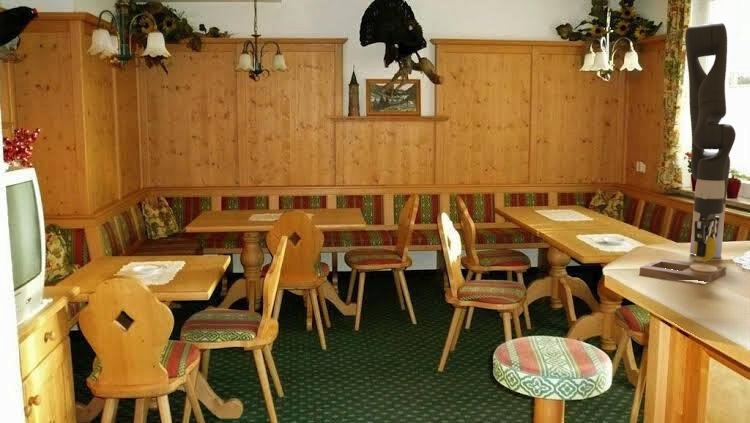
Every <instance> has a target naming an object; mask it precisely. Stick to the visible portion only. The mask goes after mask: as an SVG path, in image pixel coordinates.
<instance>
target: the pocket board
mask: <svg viewBox="0 0 750 423" xmlns="http://www.w3.org/2000/svg"><path fill="white" fill-rule="evenodd" d="M693 264H702V263H700V262H694V261H693V262H692V261H687V260H680V259H674V258H667V257H662V258H659V259H657V260H654V261H652V262H650V263H648V264H645V265H643V266H640V268H639V275H644V276H649V277H655V278H660V279H661V278H662V279H666V280H672V281H678V280H698V281H704V282H710V283H711V282H713V281H715V280H717V279H719V278H721V277H722V276H724V275H726V273H727V266H720V265H714V264H713V265H712V264H710V265H711V266H715V267H717V272H699V271H694V270H691V269H690V265H693ZM703 264H704V265H709V264H708V263H703ZM665 268H666V269H665ZM671 269H673V270H671ZM677 270H678V271H677Z"/></svg>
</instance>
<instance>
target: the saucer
mask: <svg viewBox="0 0 750 423" xmlns="http://www.w3.org/2000/svg"><path fill="white" fill-rule="evenodd" d="M704 264H705V263H701V264H693V265H690V269H691V270H694V271H699V272H717V267H715V266H716V265H715V266H711V265H712V264H708V265H704Z"/></svg>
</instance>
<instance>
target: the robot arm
mask: <svg viewBox="0 0 750 423" xmlns="http://www.w3.org/2000/svg"><path fill="white" fill-rule="evenodd" d="M684 40H685V42H684V46H685V53H686V62H687V71H688V84H689V85H688V86H689V87H688V89H689V90H688V91H689V94H688V95H689V97H688V98H689V116H690V126H691V128H690V129H691V163H690V164H691V165H690V166H691V176H692V178H693V179H694V180H696V183H695V189H694V197H693V198H694V199H693V213H692V223H691V224H692V225H691V237H690V250H689V254H690V253H693V254H695V243H696V242H697V243H698V244H697V256H699V257H705V256H706V243H707V239H708V237H709V236H710V237H712V238H713V239H714V241H715V244H716V252H715V254H714V256H713V257H712V258H711V259H718V258H721V257H722V252H723V251H722V248H723V240H724V239H723V238H724V237H723V236H724V229H725V228H724V226H725V225H724V224H725V216H726V215H725V214H726V201H727V192H728V183H729V176H730V169H731V158H730V153H731V151H732V149H733V145H734V144H735V140H736V130H735V128H734V126H732V124H727V123H720V122H721V120H722V119H723V118H724V117H725V116H726V114H727V102H726V100H727V99H726V75H727V74H726V73H727V61H728V59H727V58H728V33H727V27H726V25H725V24H724V23H723V22H711V23H706V24H697V25H696V24H695V25H691V26H688V27H687V28H686V31H685V35H684ZM711 56H715V57H714V62H713V64H712V66H711V68H710V69H709V72H708V73H706V72H705V70H704V68H703V66H702V65H701V62H700V59H699V58H702V57H703V58H704V57H711ZM705 150H718V151H717V152H714V151H713V152H711V151H710V152H708V151H705ZM701 236H702V238H700V237H701ZM697 256H696V257H697Z"/></svg>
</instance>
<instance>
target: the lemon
mask: <svg viewBox="0 0 750 423" xmlns="http://www.w3.org/2000/svg"><path fill="white" fill-rule="evenodd" d="M700 238H702V236H701V237H700ZM697 244H698V243H697V242H696V243H695V254H696V256H695V257H697V258H698V259H699V260H701V261H702V262H703V263H705V262H707V261H709V260H711V259H713V258H712V257H713V256H714V254H715V252H716V244H715V241H714V239H713V238H712V237H710V236H709V237H708V239H707V243H706V256H705V257H699V256H697Z"/></svg>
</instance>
